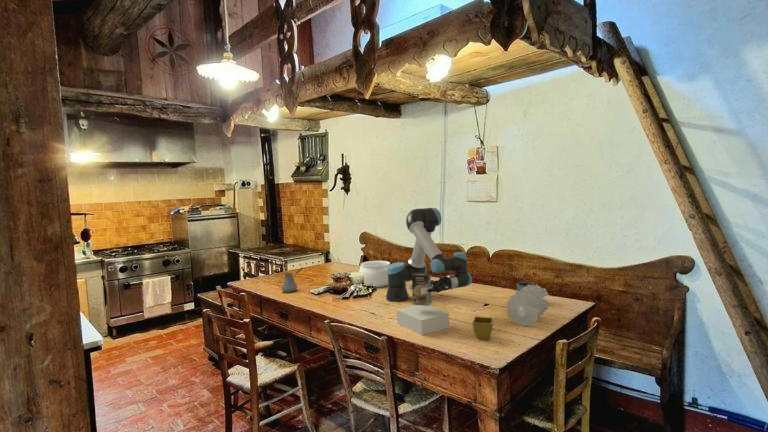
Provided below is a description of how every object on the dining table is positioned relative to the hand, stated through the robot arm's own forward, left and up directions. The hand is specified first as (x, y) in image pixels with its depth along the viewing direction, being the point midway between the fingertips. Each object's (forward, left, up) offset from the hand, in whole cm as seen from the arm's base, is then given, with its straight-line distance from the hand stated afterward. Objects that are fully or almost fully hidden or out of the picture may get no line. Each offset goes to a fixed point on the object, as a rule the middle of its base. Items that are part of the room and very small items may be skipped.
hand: (415, 289), depth 210 cm
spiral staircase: (+41, +44, -21) cm, 64 cm away
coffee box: (+1, +4, -9) cm, 10 cm away
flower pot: (+35, +8, -21) cm, 41 cm away
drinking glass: (+26, +74, -21) cm, 81 cm away
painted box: (+1, +4, -21) cm, 21 cm away
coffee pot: (-123, +6, -21) cm, 125 cm away
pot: (-84, +54, -21) cm, 102 cm away
